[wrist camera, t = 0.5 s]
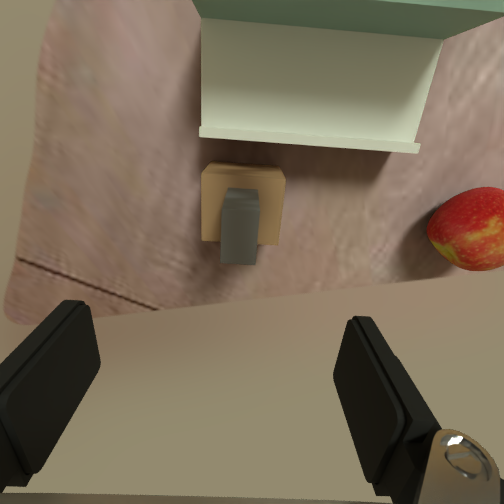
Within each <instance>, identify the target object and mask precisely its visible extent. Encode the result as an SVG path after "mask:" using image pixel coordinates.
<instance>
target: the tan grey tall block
mask: <svg viewBox="0 0 504 504" xmlns="http://www.w3.org/2000/svg"><path fill="white" fill-rule="evenodd" d="M285 184H286V178H285V177H284V175H283V173H282V171H281V169H280V167H279V166H274V165H260V164H246V163H233V162H219V161H211V162H210V164H209V165H208V166H207V167H206V168H205V169H204V171H203V172H202V173H201V237H202V241H217V242H221V252H220V263H228V264H244V265H255V264H256V252H257V244H264V245H278V242H279V234H280V225H281V217H282V209H283V201H284V192H285Z"/></svg>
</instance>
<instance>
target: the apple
mask: <svg viewBox="0 0 504 504" xmlns="http://www.w3.org/2000/svg"><path fill="white" fill-rule="evenodd" d="M427 235H428V237H429V239H430V241H431V242H432V244H433V245H434V247H435V248H436V249H437V250H438V252H439V253H440V254H441V255H442V256H443V257H444V258H446V259H447V260H448V261H450V262H451V263H452V264H454V265H456V266H458V267H459V268H462V269H465V270H469V271H487V270H491V269H495V268H498V267H501V266H503V265H504V191H503V190H501V189H498V188H493V187H481V188H475V189H471V190H468V191H465V192H463V193H460V194H458V195H456V196H454V197H452V198H451V199H449V200H448V201H446V202H445V203H444V204H443V205H441V206H440V207H439V208H438V209H437V210H436V212H435V213H434V214H433V215H432V217H431V218H430V220H429V222H428V225H427Z"/></svg>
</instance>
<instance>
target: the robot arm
mask: <svg viewBox="0 0 504 504" xmlns="http://www.w3.org/2000/svg"><path fill="white" fill-rule="evenodd" d="M100 363H101V361H100V355H99V350H98V345H97V340H96V335H95V330H94V325H93V320H92V315H91V310H90V307H89V306H88V305H86V304H85V302H84V301H79V300H64V301H62V302H61V303H60V304H59V305H58V306H57V307H56V308H55V309H54V310H53V311H52V312H51V313H50V314H49V315H48V316H47V317H46V318H45V319H44V320H43V321H42V322H41V323H40V324H39V325H38V327H36V329H34V331H33V332H32V333H31V334H30V335H29V336H28V337H27V338H26V339H25V340H24V341H23V342H22V343H21V344H20V345H19V346H18V347H17V348H16V349H15V350H14V351H13V352H12V353H11V354H10V355H9V356H8V357H7V358H6V359H5V360H4V361H3V362H2V363H1V364H0V504H390V503H375V502H374V503H373V502H355V501H335V500H307V499H305V500H304V499H274V498H242V497H241V498H240V497H204V496H201V497H200V496H163V495H119V494H117V495H115V494H66V493H2V492H3V490H4V489H5V487H6V486H18V487H26V486H27V484H28V482H29V480H30V479H31V477H32V475H33V474H36V473H38V472H39V471H40V470H41V469H42V467H43V466H44V464H45V462H46V460H47V459H48V457H49V455H50V454H51V452H52V450H53V448H54V447H55V445H56V443H57V442H58V440H59V438H60V436H61V435H62V433H63V431H64V430H65V428H66V426H67V424H68V423H69V421H70V419H71V417H72V416H73V414H74V412H75V411H76V409H77V407H78V405H79V404H80V402H81V400H82V398H83V397H84V395H85V393H86V392H87V389H88V388H89V386H90V385H91V383H92V381H93V380H94V378H95V376H96V374H97V373H98V370H99V368H100ZM333 379H334V383H335V386H336V389H337V393H338V395H339V399H340V402H341V405H342V408H343V411H344V414H345V417H346V420H347V423H348V427H349V430H350V433H351V436H352V439H353V441H354V445H355V448H356V451H357V454H358V457H359V460H360V464H361V467H362V469H363V473H364V476H365V479H366V480H367V482H368V483H372V485H373V488H374V491H375V494H376V496H390V497H391V499H392V502H393V504H504V480H503V479H501V478H500V474H499V469H498V467H497V465H496V463H495V461H494V459H493V458H492V457H491V455H490V454H489V453H488V451H487V450H486V449H485V448H484V447H482V446H481V445H480V444H479V443H478V442H477V441H475V440H474V439H472V438H471V437H470V436H468V435H466V434H464V433H462V432H460V431H456V430H453V429H442V428H441V426H440V425H439V423H438V422H437V420H436V418H435V417H434V415H433V414H432V412H431V410H430V409H429V407H428V406H427V404H426V402H425V401H424V399H423V397H422V396H421V394H420V392H419V391H418V389H417V388H416V386H415V384H414V383H413V381H412V380H411V378H410V376H409V375H408V373H407V371H406V370H405V368H404V367H403V365H402V364H401V362H400V360H399V359H398V358H397V357H396V356H395V355H394V354H393V352H392V350H391V349H390V347H389V345H388V344H387V342H386V340H385V339H384V337H383V336H382V334H381V332H380V331H379V329H378V327H377V326H376V324H375V322H374V321H373V319H372V318H371V317H366V316H354V317H353V318H352V320H348V322H347V325H346V328H345V332H344V335H343V339H342V343H341V346H340V350H339V353H338V357H337V361H336V364H335V368H334V372H333Z"/></svg>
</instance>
